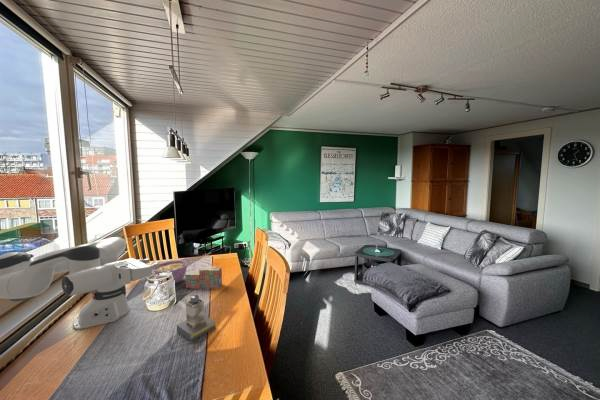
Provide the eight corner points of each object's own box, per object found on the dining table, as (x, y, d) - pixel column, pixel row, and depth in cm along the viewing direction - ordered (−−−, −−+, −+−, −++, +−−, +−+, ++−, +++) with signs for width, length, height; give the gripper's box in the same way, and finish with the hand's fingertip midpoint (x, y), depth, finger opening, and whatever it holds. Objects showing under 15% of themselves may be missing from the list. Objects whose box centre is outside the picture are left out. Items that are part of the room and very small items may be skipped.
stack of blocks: (185, 288, 156) (184, 270, 154) (190, 284, 162) (189, 266, 161) (219, 288, 155) (218, 270, 154) (222, 284, 161) (221, 266, 160)
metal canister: (189, 303, 113) (189, 296, 112) (196, 300, 115) (196, 293, 115) (192, 306, 111) (192, 300, 110) (200, 303, 113) (200, 297, 112)
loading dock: (191, 341, 106) (191, 335, 105) (176, 331, 113) (176, 324, 113) (215, 327, 115) (215, 321, 115) (200, 318, 123) (200, 313, 122)
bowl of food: (189, 274, 178) (188, 259, 177) (187, 286, 159) (186, 268, 158) (157, 278, 171) (156, 262, 170) (151, 291, 152) (150, 273, 151)
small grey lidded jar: (193, 328, 110) (192, 306, 109) (186, 324, 113) (185, 302, 112) (205, 322, 115) (204, 300, 113) (198, 317, 118) (197, 297, 117)
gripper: (109, 273, 107) (144, 264, 118) (128, 285, 95) (164, 274, 106) (108, 259, 106) (143, 251, 117) (126, 270, 94) (164, 259, 105)
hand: (153, 262), depth 112 cm, fingers open, 8 cm apart
